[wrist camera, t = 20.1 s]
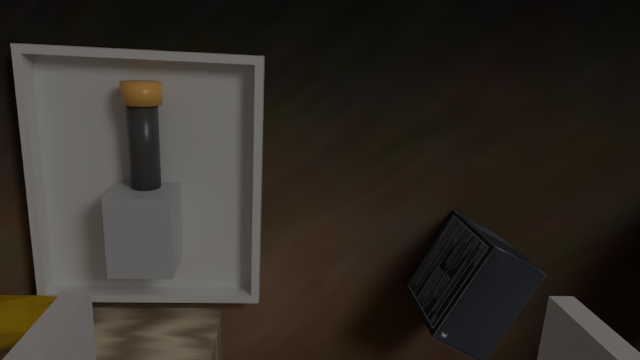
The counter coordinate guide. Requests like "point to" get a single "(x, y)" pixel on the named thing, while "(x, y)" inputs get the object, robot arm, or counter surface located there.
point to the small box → (471, 286)
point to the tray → (113, 166)
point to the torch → (20, 316)
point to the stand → (157, 333)
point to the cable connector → (142, 197)
